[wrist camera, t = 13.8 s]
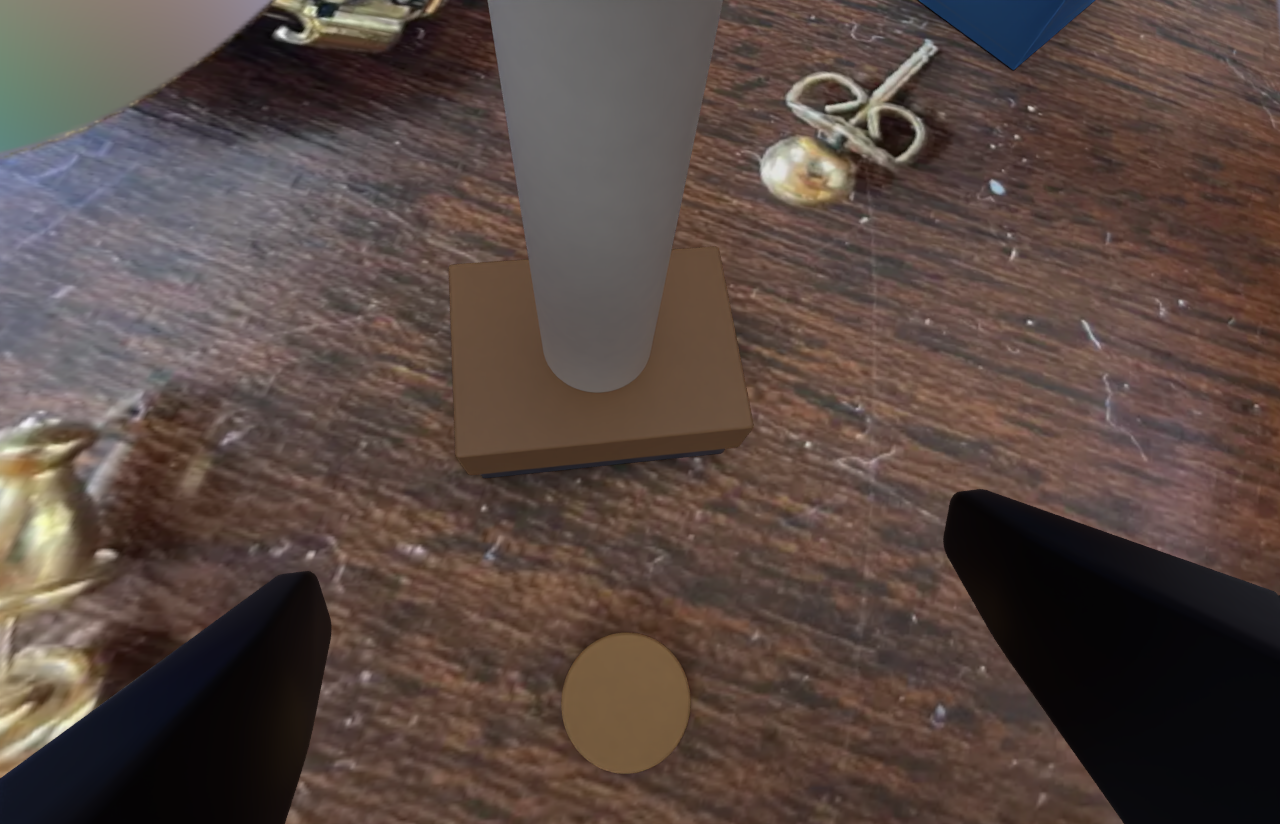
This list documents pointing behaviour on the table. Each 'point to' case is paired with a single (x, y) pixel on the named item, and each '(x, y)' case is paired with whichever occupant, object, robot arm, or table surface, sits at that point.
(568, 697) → the disc
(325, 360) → the table surface
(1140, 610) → the robot arm
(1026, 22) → the perfume bottle
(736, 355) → the stamp
